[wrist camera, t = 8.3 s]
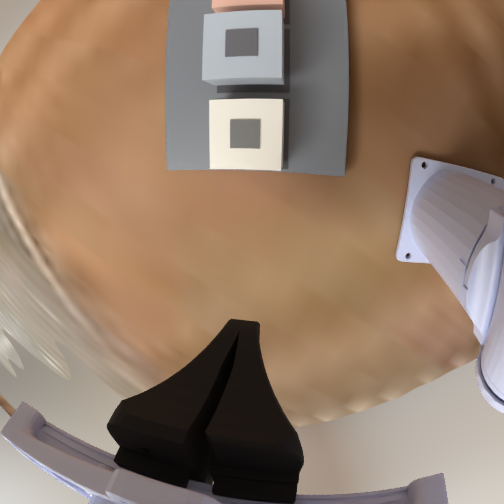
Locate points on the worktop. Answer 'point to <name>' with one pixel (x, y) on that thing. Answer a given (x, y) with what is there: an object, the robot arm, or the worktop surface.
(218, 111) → the key
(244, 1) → the key
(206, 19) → the key
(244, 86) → the keypad board
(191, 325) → the worktop surface
